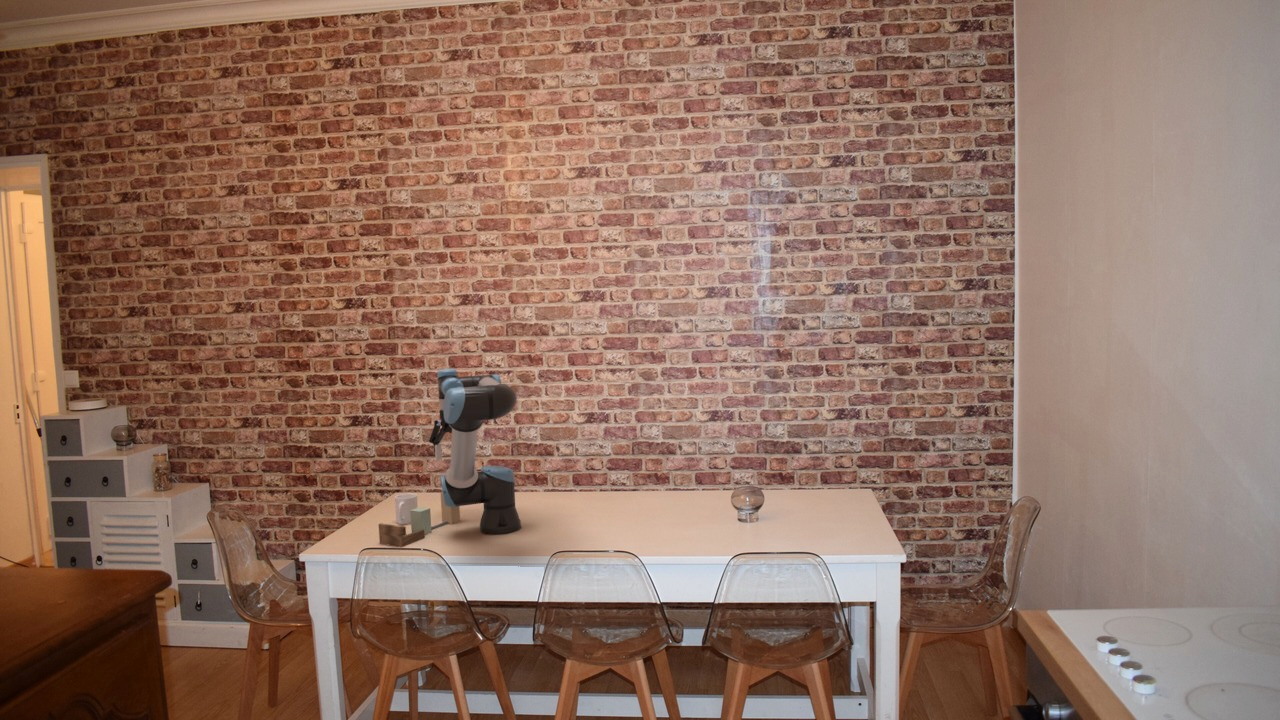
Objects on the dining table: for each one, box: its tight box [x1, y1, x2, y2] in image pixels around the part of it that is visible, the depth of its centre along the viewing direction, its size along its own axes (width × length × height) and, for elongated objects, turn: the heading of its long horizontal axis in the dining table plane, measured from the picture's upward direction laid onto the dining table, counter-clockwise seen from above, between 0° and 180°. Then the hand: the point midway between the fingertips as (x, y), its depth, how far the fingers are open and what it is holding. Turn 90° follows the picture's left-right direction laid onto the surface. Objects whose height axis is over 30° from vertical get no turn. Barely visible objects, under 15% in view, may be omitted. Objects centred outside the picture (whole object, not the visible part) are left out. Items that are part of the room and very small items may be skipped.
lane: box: [378, 522, 426, 548], centre depth 297 cm, size 10×12×7 cm
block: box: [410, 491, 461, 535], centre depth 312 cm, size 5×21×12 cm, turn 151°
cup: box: [394, 492, 419, 525], centre depth 320 cm, size 8×12×10 cm
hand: (451, 462), depth 324 cm, fingers open, 13 cm apart
